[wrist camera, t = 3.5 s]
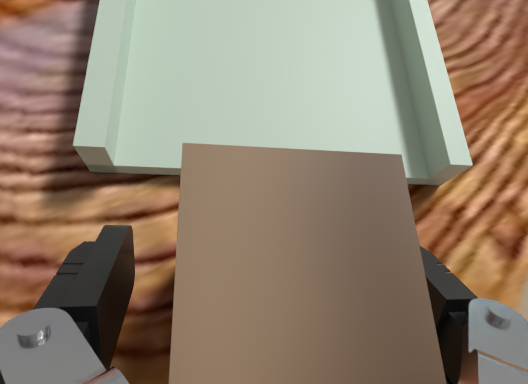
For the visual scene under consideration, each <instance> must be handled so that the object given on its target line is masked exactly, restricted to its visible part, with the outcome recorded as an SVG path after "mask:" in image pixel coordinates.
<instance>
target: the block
mask: <svg viewBox="0 0 528 384" xmlns="http://www.w3.org/2000/svg"><path fill="white" fill-rule="evenodd" d="M169 384H447V383H446V378H445V373H444V368H443V363H442V358H441V353H440V348H439V343H438V338H437V333H436V327H435V322H434V317H433V312H432V307H431V302H430V297H429V292H428V287H427V282H426V277H425V271H424V266H423V261H422V256H421V251H420V246H419V241H418V236H417V231H416V226H415V221H414V215H413V210H412V205H411V200H410V195H409V190H408V185H407V180H406V175H405V170H404V165H403V159H402V155H401V154H382V153H364V152H345V151H326V150H308V149H289V148H271V147H252V146H233V145H215V144H196V143H183V144H182V161H181V178H180V196H179V213H178V231H177V248H176V265H175V283H174V300H173V318H172V335H171V352H170V370H169Z"/></svg>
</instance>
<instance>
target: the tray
mask: <svg viewBox="0 0 528 384" xmlns="http://www.w3.org/2000/svg"><path fill="white" fill-rule="evenodd" d="M183 143H196V144H215V145H233V146H252V147H271V148H289V149H308V150H326V151H345V152H364V153H382V154H401V155H402V159H403V165H404V170H405V175H406V180H407V184H421V185H442V184H443V183H445V182H447V181H448V180H450V179H451V178H453V177H455V176H456V175H458V174H460V173H461V172H463V171H465V170H466V169H468V168H469V167H471V166H473V165H472V161H471V157H470V154H469V150H468V146H467V143H466V139H465V136H464V132H463V128H462V125H461V121H460V118H459V114H458V110H457V107H456V103H455V99H454V96H453V92H452V89H451V85H450V81H449V78H448V74H447V70H446V67H445V63H444V60H443V56H442V52H441V49H440V45H439V42H438V38H437V34H436V31H435V27H434V23H433V20H432V16H431V13H430V9H429V5H428V2H427V0H100V1H99V7H98V12H97V18H96V23H95V28H94V34H93V39H92V45H91V50H90V55H89V61H88V66H87V72H86V77H85V82H84V88H83V93H82V98H81V104H80V109H79V115H78V120H77V125H76V131H75V136H74V142H73V147H74V148H75V150H76V151H77V153H78V154H79V156H80V157H81V159H82V160H83V162H84V163H85V165H86V166H87V168H88V169H89V171H90V172H107V173H133V174H159V175H181V161H182V144H183Z"/></svg>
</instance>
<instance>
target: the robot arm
mask: <svg viewBox="0 0 528 384" xmlns="http://www.w3.org/2000/svg"><path fill="white" fill-rule="evenodd" d="M420 251H421V256H422V261H423V266H424V271H425V277H426V282H427V287H428V292H429V297H430V302H431V307H432V312H433V317H434V322H435V327H436V333H437V338H438V343H439V348H440V353H441V358H442V363H443V368H444V373H445V378H446V383H447V384H528V322H527V320H526V319H525V318H524V317H523V316H522V315H521V314H519V313H518V312H517V311H515V310H514V309H512V308H510V307H509V306H507V305H505V304H502V303H500V302H497V301H494V300H490V299H484V298H478V297H477V296H476V295H474V294H473V293H472V292H471V291H470V290H469V289H468V288H467V287H466V286H465V285H464V284H463V283H462V282H461V281H460V280H459V279H458V278H457V277H456V276H455V275H454V274H453V273H450V270H449V269H448V268H447V267H446V266H445V265H442V263H441V262H440V261H439V260H438V259H437V258H436V257H435V256H434V255H433V254H432V253H431V252H429V251H427V250H426V249H424V248H422V247H421V246H420ZM134 278H135V263H134V245H133V230H132V227H131V226H124V225H105V226H104V227H103V229H102V230H101V232H100V234H99V236H98V238H97V239H96V241H95V242H83V243H81V244H80V245H79V246H77V247H76V248H74V249H73V250H71V251H70V252H69V254H68V256H67V257H66V259H65V260H64V262H63V265H61V267H60V268H59V270H58V271H57V274H56V275H55V276H54V277H53V279H52V281H51V282H50V284H49V285H48V287H47V288H46V290H45V291H44V293H43V295H42V296H41V298H40V299H39V301H38V302H37V304H36V306H35V307H34V309H33V310H31V311H28V312H25V313H22V314H20V315H18V316H16V317H14V318H12V319H11V320H9V321H8V322H6V323H5V324H4V325H3V326H2V327H1V328H0V384H129V383H128V381H127V380H126V378H125V377H124V375H123V374H122V373H121V371H120V370H119V369H117V368H116V367H112V368H110V364H111V361H112V358H113V354H114V351H115V348H116V344H117V341H118V337H119V334H120V331H121V327H122V324H123V321H124V317H125V314H126V311H127V307H128V304H129V300H130V297H131V294H132V290H133V286H134ZM109 368H110V369H109Z"/></svg>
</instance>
